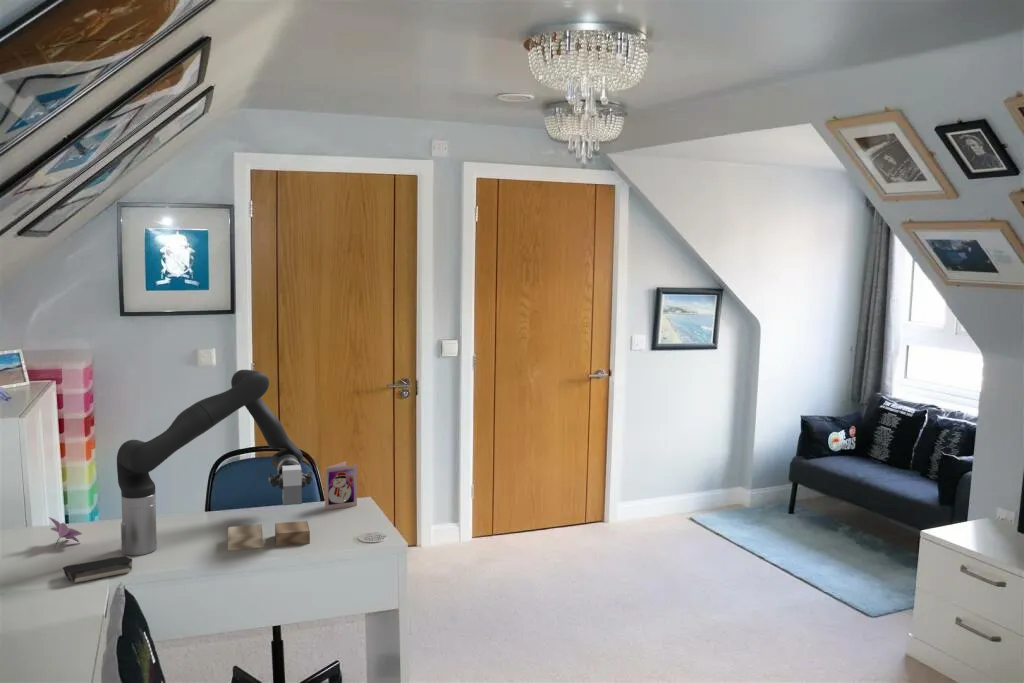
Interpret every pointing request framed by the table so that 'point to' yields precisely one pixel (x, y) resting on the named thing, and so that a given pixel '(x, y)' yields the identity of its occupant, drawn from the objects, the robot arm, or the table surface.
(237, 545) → the birch stand
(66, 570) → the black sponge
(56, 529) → the lily
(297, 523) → the walnut stand
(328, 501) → the greeting card
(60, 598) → the table surface
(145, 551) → the robot arm
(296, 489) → the block
